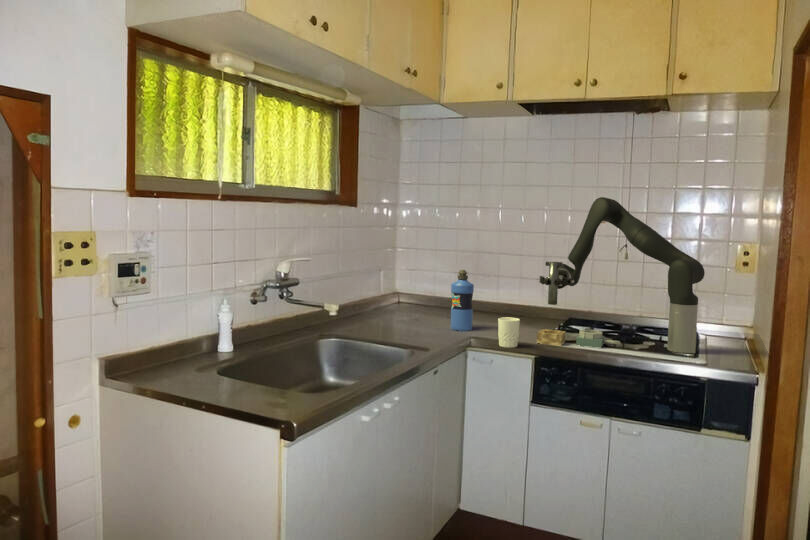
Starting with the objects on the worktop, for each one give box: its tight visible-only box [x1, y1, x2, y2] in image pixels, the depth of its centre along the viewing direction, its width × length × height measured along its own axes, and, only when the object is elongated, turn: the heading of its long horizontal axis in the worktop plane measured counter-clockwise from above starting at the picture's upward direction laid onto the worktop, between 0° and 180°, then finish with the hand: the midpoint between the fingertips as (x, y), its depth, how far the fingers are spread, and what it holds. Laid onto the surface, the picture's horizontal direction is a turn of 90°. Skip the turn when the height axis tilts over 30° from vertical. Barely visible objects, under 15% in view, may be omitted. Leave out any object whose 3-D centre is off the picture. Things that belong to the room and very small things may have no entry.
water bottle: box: [450, 269, 475, 332], centre depth 253 cm, size 9×9×25 cm
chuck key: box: [545, 261, 564, 306], centre depth 229 cm, size 6×3×16 cm, turn 66°
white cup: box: [497, 316, 521, 349], centre depth 223 cm, size 8×8×10 cm
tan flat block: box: [536, 328, 567, 346], centre depth 230 cm, size 9×9×4 cm
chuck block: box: [575, 329, 621, 348], centre depth 226 cm, size 15×9×5 cm, turn 66°
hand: (551, 282), depth 226 cm, fingers closed on chuck key, 3 cm apart
